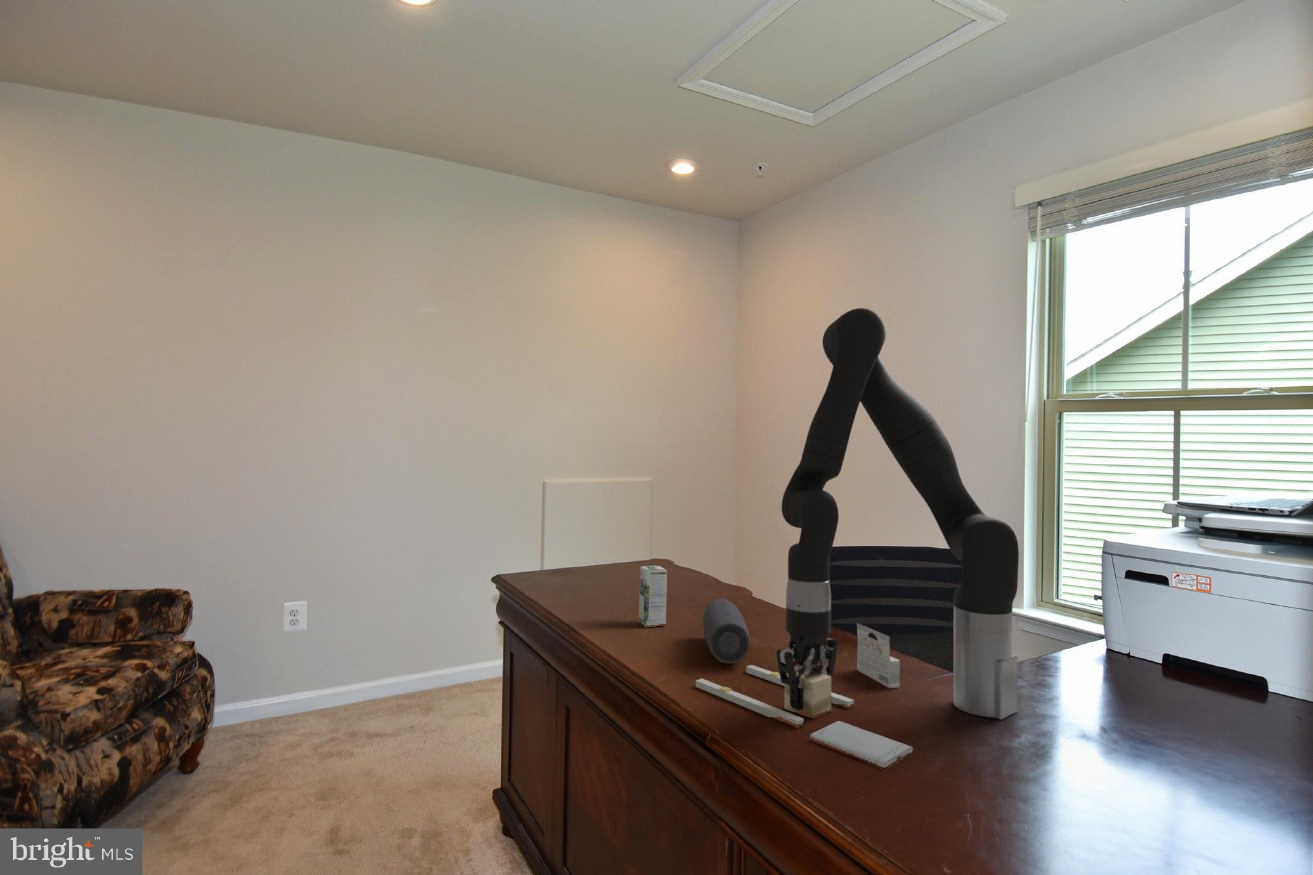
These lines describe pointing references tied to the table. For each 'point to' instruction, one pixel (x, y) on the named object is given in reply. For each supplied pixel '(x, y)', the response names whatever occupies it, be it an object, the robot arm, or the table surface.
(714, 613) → the bluetooth speaker
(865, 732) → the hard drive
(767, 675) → the slot rails
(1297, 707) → the table surface
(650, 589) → the syrup box
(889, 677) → the ink cartridge box
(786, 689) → the block
